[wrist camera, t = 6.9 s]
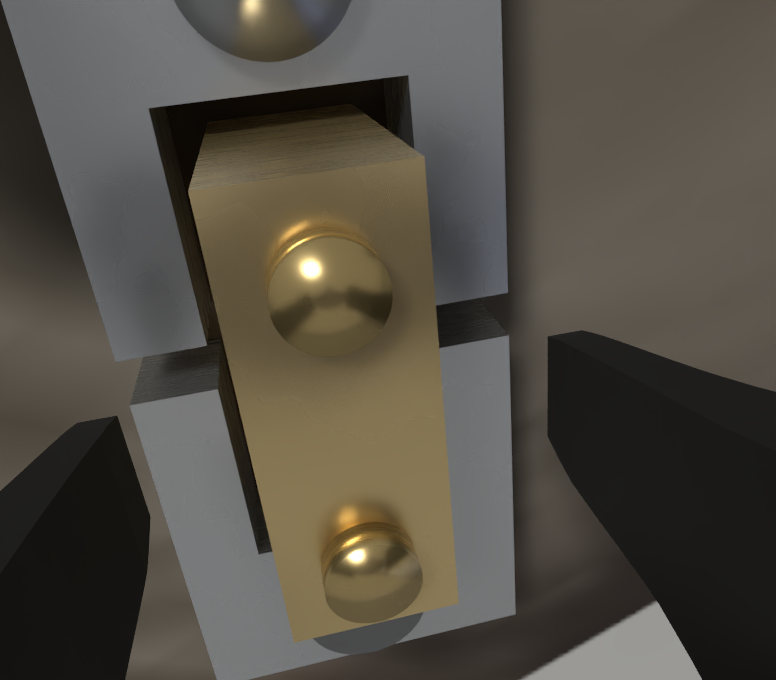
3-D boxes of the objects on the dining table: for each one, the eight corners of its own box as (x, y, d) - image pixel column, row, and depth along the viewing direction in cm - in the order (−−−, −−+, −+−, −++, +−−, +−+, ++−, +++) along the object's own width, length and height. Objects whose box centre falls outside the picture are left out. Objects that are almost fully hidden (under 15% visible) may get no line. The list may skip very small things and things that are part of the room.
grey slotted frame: (485, 550, 21) (522, 629, 18) (221, 611, 20) (219, 704, 17) (450, -174, 13) (507, -226, 10) (0, -139, 12) (-70, -187, 9)
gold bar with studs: (388, 417, 18) (468, 630, 12) (275, 439, 18) (297, 671, 11) (349, 103, 14) (436, 165, 8) (208, 121, 14) (185, 202, 8)
